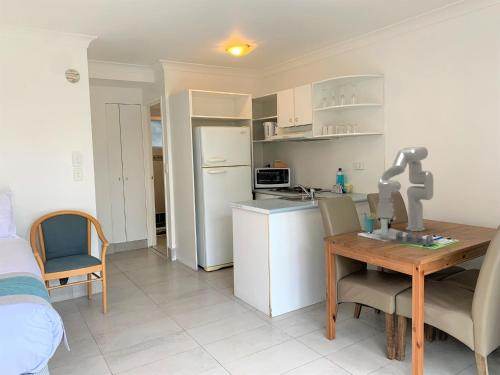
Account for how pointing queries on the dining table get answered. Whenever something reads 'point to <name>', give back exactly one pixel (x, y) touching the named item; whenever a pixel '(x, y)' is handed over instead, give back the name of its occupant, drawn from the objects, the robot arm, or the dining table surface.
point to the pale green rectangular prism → (385, 226)
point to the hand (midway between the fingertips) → (385, 228)
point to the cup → (369, 222)
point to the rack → (414, 239)
